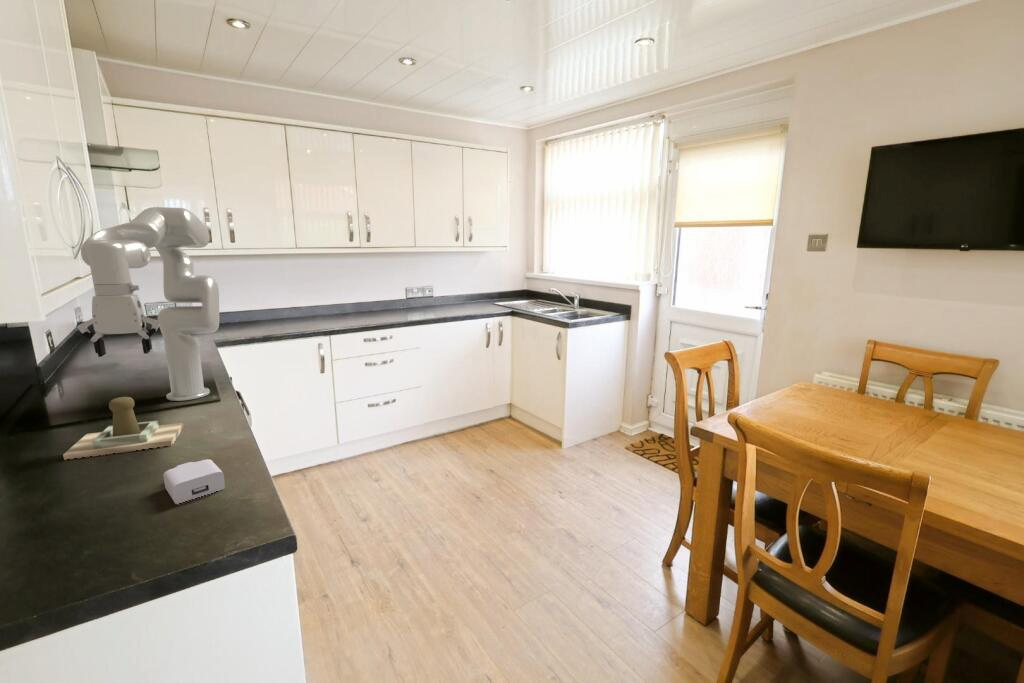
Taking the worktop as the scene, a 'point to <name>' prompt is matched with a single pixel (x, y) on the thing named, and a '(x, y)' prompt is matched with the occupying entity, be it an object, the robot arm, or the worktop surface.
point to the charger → (193, 480)
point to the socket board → (125, 440)
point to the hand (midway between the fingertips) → (125, 354)
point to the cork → (123, 417)
